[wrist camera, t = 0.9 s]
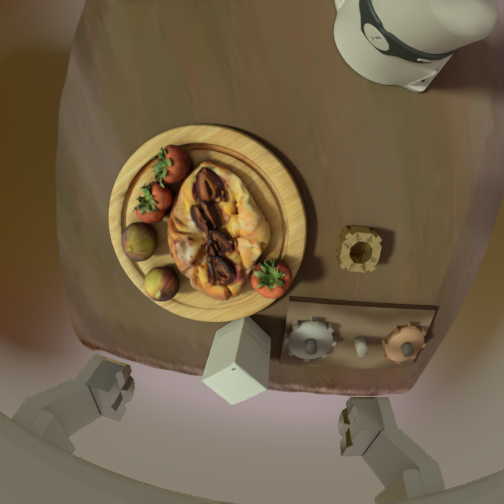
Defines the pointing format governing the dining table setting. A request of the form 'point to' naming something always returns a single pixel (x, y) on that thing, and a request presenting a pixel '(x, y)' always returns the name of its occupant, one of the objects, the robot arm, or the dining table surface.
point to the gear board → (353, 333)
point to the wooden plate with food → (208, 222)
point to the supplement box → (238, 361)
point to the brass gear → (364, 259)
